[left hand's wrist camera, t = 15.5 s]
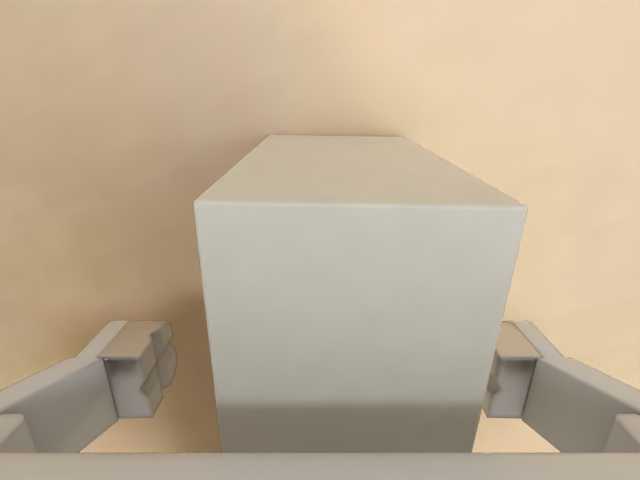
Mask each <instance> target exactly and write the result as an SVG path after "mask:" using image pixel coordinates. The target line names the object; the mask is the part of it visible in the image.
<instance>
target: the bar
mask: <svg viewBox="0 0 640 480" xmlns="http://www.w3.org/2000/svg"><path fill="white" fill-rule="evenodd" d="M193 209H194V217H195V226H196V235H197V243H198V252H199V261H200V269H201V278H202V287H203V295H204V304H205V313H206V321H207V330H208V339H209V347H210V356H211V365H212V373H213V382H214V391H215V399H216V408H217V417H218V425H219V434H220V443H221V451H222V453H472V449H473V444H474V440H475V436H476V431H477V427H478V423H479V418H480V414H481V410H482V405H483V401H484V397H485V393H486V388H487V384H488V380H489V375H490V371H491V367H492V362H493V358H494V354H495V349H496V345H497V341H498V336H499V332H500V328H501V323H502V319H503V315H504V310H505V306H506V302H507V298H508V293H509V289H510V285H511V280H512V276H513V272H514V267H515V263H516V259H517V254H518V250H519V246H520V241H521V237H522V233H523V228H524V224H525V220H526V215H527V211H528V209H527V206H526V205H524V204H522V203H521V202H519V201H517V200H515V199H514V198H512V197H510V196H508V195H507V194H505V193H503V192H501V191H500V190H498V189H496V188H494V187H492V186H491V185H489V184H487V183H485V182H484V181H482V180H480V179H478V178H477V177H475V176H473V175H471V174H470V173H468V172H466V171H464V170H462V169H461V168H459V167H457V166H455V165H454V164H452V163H450V162H448V161H447V160H445V159H443V158H441V157H440V156H438V155H436V154H434V153H433V152H431V151H429V150H427V149H425V148H424V147H422V146H420V145H418V144H417V143H415V142H413V141H411V140H410V139H408V138H406V137H392V136H330V135H269V136H268V137H267V138H265V139H264V140H263V141H262V142H261V143H260V144H259V145H257V146H256V147H255V148H254V149H253V150H252V151H250V152H249V153H248V154H247V155H246V156H245V157H244V158H242V159H241V160H240V161H239V162H238V163H237V164H236V165H234V166H233V167H232V168H231V169H230V170H229V171H228V172H226V173H225V174H224V175H223V176H222V177H221V178H220V179H218V180H217V181H216V182H215V183H214V184H213V185H211V186H210V187H209V188H208V189H207V190H206V191H205V192H203V193H202V194H201V195H200V196H199V197H198V198H197V199H195V200H194V203H193Z"/></svg>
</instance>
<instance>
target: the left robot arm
mask: <svg viewBox="0 0 640 480" xmlns="http://www.w3.org/2000/svg"><path fill="white" fill-rule="evenodd" d="M172 336H173V332H172V327H171V324H170V323H169V322H168V321H129V320H128V321H111V322H108V323H107V324H106V325H105V326H104V328H103V329H102V330H101V331H100V332H99V333H98V334H97V335H96V336H95V337H94V338H93V339H92V340H91V341H90V342H89V343H88V344H87V345H86V347H85V348H84V349H83V350H82V351H81V352H80V353H79V354H78V355H77V356H76V357H75V358H67V359H65V360H63V361H61V362H59V363H57V364H55V365H53V366H50V367H48V368H46V369H44V370H42V371H40V372H38V373H36V374H34V375H31V376H29V377H27V378H25V379H23V380H21V381H19V382H17V383H15V384H12V385H10V386H8V387H6V388H4V389H2V390H0V480H640V390H638V389H636V388H634V387H632V386H629V385H627V384H625V383H623V382H621V381H619V380H617V379H615V378H613V377H611V376H608V375H606V374H604V373H602V372H600V371H598V370H596V369H594V368H592V367H590V366H587V365H585V364H583V363H581V362H579V361H577V360H575V359H573V358H565V357H564V356H563V355H562V354H561V353H560V352H559V351H558V350H557V349H556V348H555V347H554V345H553V344H552V343H551V342H550V341H549V340H548V339H547V338H546V337H545V336H544V335H543V334H542V333H541V332H540V331H539V330H538V329H537V327H536V326H535V325H534V324H533V323H532V322H530V321H527V320H521V321H502V323H501V328H500V332H499V336H498V341H497V345H496V349H495V354H494V358H493V362H492V367H491V371H490V375H489V380H488V384H487V388H486V393H485V397H484V401H483V405H482V408H483V410H484V412H485V414H486V416H487V418H522V421H524V422H525V423H526V424H527V425H528V426H530V427H531V428H532V429H533V430H535V431H536V432H537V433H538V434H540V435H541V436H542V437H543V438H544V439H546V440H547V441H548V442H549V443H551V444H552V445H553V446H554V447H555V448H557V449H558V450H559V451H560V452H562V453H79V452H80V451H81V450H82V449H83V448H85V447H86V446H87V445H88V444H90V443H91V442H92V441H93V440H94V439H96V438H97V437H98V436H99V435H101V434H102V433H103V432H104V431H106V430H107V429H108V428H109V427H110V426H112V425H113V424H114V423H115V422H117V421H118V418H152V417H153V416H154V414H155V412H156V410H157V408H158V406H159V405H160V403H161V401H162V399H163V392H162V390H163V389H164V388H165V387H167V386H168V385H170V383H171V381H172V379H173V377H174V374H175V370H176V365H177V356H176V349H175V348H174V347H173V346H172V345H171V344H170V343H169V341H170V339H171V338H172Z"/></svg>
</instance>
